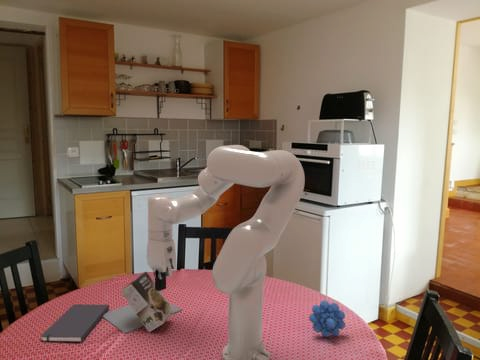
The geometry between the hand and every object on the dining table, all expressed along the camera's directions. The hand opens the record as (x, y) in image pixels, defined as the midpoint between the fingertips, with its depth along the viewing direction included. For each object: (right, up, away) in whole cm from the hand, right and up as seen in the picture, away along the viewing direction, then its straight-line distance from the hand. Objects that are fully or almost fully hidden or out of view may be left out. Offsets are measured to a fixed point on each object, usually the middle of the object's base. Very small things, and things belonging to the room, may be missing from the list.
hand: (160, 289), depth 127 cm
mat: (-8, -11, +10) cm, 17 cm away
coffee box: (0, -11, +1) cm, 11 cm away
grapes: (+53, -14, -4) cm, 55 cm away
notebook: (-27, -12, +2) cm, 30 cm away
